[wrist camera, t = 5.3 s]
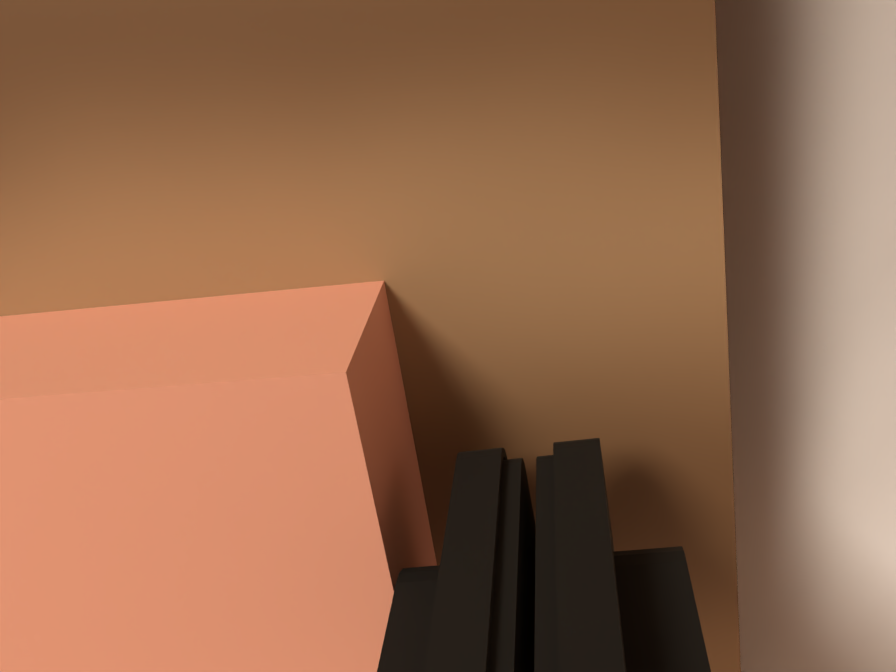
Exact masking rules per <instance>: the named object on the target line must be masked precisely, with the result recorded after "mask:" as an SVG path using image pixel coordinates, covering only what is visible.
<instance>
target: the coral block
mask: <svg viewBox="0 0 896 672" xmlns="http://www.w3.org/2000/svg"><path fill="white" fill-rule="evenodd" d="M425 566H437V562H436V557H435V552H434V546H433V541H432V536H431V530H430V525H429V519H428V514H427V509H426V503H425V498H424V493H423V487H422V482H421V476H420V471H419V466H418V460H417V455H416V450H415V444H414V439H413V434H412V428H411V423H410V417H409V412H408V407H407V401H406V396H405V391H404V385H403V380H402V374H401V369H400V364H399V358H398V353H397V348H396V342H395V337H394V331H393V326H392V321H391V315H390V310H389V305H388V299H387V294H386V288H385V283H384V281H374V282H363V283H352V284H342V285H331V286H320V287H309V288H299V289H288V290H277V291H267V292H256V293H245V294H234V295H224V296H213V297H202V298H192V299H181V300H170V301H159V302H149V303H138V304H127V305H116V306H106V307H95V308H84V309H74V310H63V311H52V312H41V313H31V314H20V315H9V316H0V672H377V669H378V664H379V660H380V655H381V650H382V646H383V641H384V636H385V632H386V627H387V623H388V618H389V613H390V609H391V604H392V599H393V595H394V590H395V585H396V581H397V578H398V575H399V573H400V571H401V570H402V569H403V568H412V567H425Z"/></svg>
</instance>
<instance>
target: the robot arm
mask: <svg viewBox="0 0 896 672" xmlns="http://www.w3.org/2000/svg"><path fill="white" fill-rule="evenodd" d="M377 672H711V669H710V665H709V660H708V656H707V651H706V647H705V642H704V638H703V633H702V629H701V624H700V620H699V615H698V611H697V606H696V602H695V597H694V593H693V588H692V584H691V579H690V575H689V570H688V566H687V561H686V557H685V553H684V550H683V547H682V546H678V547H665V548H652V549H640V550H627V551H614V545H613V537H612V529H611V521H610V514H609V506H608V498H607V491H606V483H605V475H604V468H603V460H602V452H601V445H600V438H593V439H583V440H573V441H563V442H554V443H553V455H547V456H537V458H536V524H535V519H534V513H533V507H532V502H531V496H530V490H529V485H528V479H527V474H526V468H525V463H524V460H523V458H517V459H507V455H506V452H505V449H504V448H494V449H484V450H474V451H465V452H459V453H458V454H457V458H456V464H455V470H454V477H453V483H452V490H451V496H450V502H449V509H448V515H447V522H446V528H445V535H444V541H443V548H442V554H441V561H440V565H438V566H425V567H412V568H403V569H402V570H401V571H400V573H399V575H398V578H397V581H396V585H395V590H394V595H393V599H392V604H391V609H390V613H389V618H388V623H387V627H386V632H385V636H384V641H383V646H382V650H381V655H380V660H379V664H378V669H377Z"/></svg>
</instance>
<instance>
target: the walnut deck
mask: <svg viewBox="0 0 896 672" xmlns="http://www.w3.org/2000/svg"><path fill="white" fill-rule="evenodd" d="M374 281H384V283H385V288H386V294H387V299H388V305H389V310H390V315H391V321H392V326H393V331H394V337H395V342H396V348H397V353H398V358H399V364H400V369H401V374H402V380H403V385H404V391H405V396H406V401H407V407H408V412H409V417H410V423H411V428H412V434H413V439H414V444H415V450H416V455H417V460H418V466H419V471H420V476H421V482H422V487H423V493H424V498H425V503H426V509H427V514H428V519H429V525H430V530H431V536H432V541H433V546H434V552H435V557H436V562H437V566H438V565H440V561H441V554H442V548H443V541H444V535H445V528H446V522H447V515H448V509H449V502H450V496H451V490H452V483H453V477H454V470H455V464H456V458H457V454H458V453H459V452H465V451H474V450H484V449H494V448H504V449H505V452H506V455H507V459H517V458H523V460H524V463H525V468H526V474H527V479H528V485H529V490H530V496H531V502H532V507H533V513H534V519H535V524H536V458H537V456H547V455H553V443H554V442H563V441H573V440H583V439H593V438H600V445H601V452H602V460H603V468H604V475H605V483H606V491H607V498H608V506H609V514H610V521H611V529H612V537H613V545H614V551H627V550H640V549H652V548H665V547H678V546H682V547H683V550H684V553H685V557H686V561H687V566H688V570H689V575H690V579H691V584H692V588H693V593H694V597H695V602H696V606H697V611H698V615H699V620H700V624H701V629H702V633H703V638H704V642H705V647H706V651H707V656H708V660H709V665H710V669H711V672H741V667H740V641H739V615H738V589H737V563H736V537H735V511H734V485H733V459H732V433H731V407H730V381H729V355H728V329H727V303H726V277H725V251H724V225H723V199H722V173H721V147H720V121H719V95H718V69H717V43H716V17H715V0H0V316H9V315H20V314H31V313H41V312H52V311H63V310H74V309H84V308H95V307H106V306H116V305H127V304H138V303H149V302H159V301H170V300H181V299H192V298H202V297H213V296H224V295H234V294H245V293H256V292H267V291H277V290H288V289H299V288H309V287H320V286H331V285H342V284H352V283H363V282H374Z"/></svg>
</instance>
